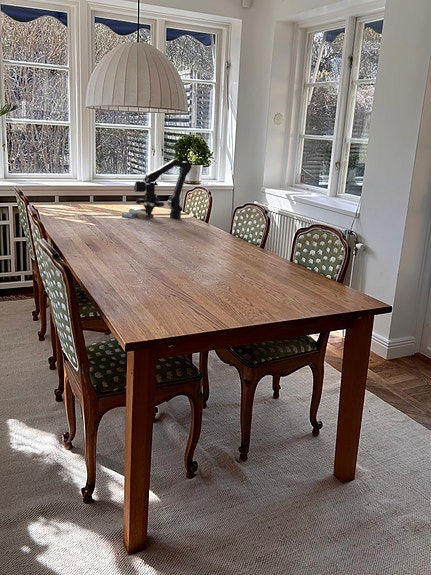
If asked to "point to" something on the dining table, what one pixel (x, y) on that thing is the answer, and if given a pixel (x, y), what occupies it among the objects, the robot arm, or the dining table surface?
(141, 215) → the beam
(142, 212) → the silver metal tumbler
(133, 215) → the v block
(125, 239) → the dining table surface
